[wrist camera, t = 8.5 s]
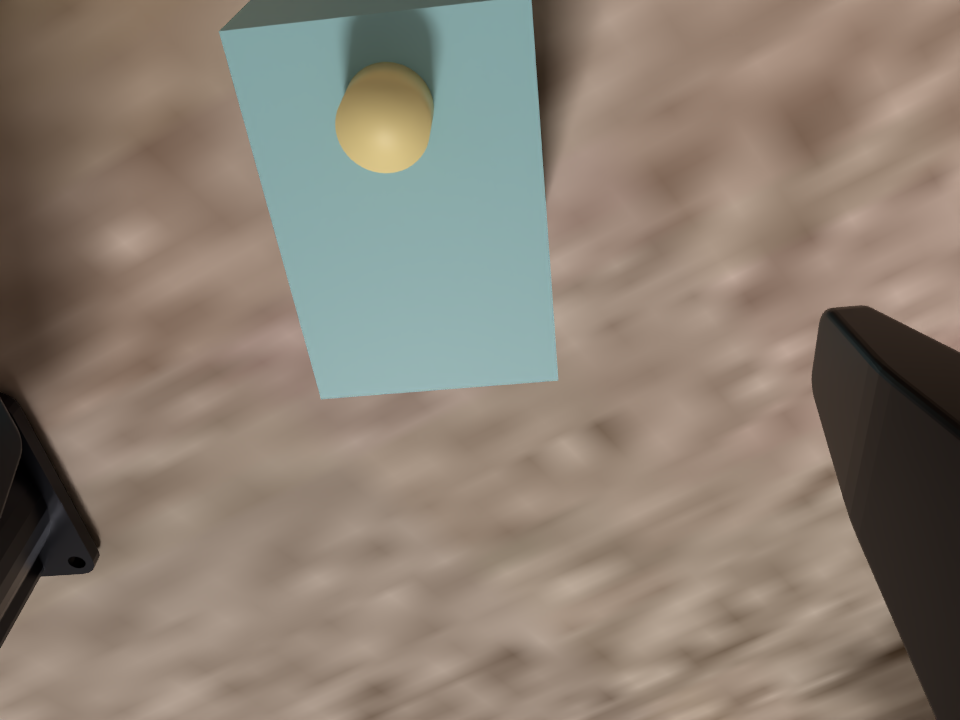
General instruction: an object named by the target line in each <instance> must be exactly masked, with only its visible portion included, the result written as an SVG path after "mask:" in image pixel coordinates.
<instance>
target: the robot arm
mask: <svg viewBox="0 0 960 720" xmlns="http://www.w3.org/2000/svg"><path fill="white" fill-rule="evenodd" d="M812 390H813V395H814V399H815V403H816V406H817V410H818V413H819V417H820V420H821V423H822V427H823V430H824V434H825V437H826V441H827V444H828V448H829V451H830V454H831V458H832V461H833V465H834V468H835V472H836V475H837V479H838V482H839V486H840V489H841V492H842V496H843V499H844V502H845V505H846V509H847V512H848V515H849V518H850V521H851V523H852V526H853V528H854V531H855V533H856V536H857V538H858V540H859V543H860V545H861V547H862V550H863V552H864V554H865V557H866V559H867V561H868V563H869V566H870V568H871V570H872V573H873V575H874V577H875V580H876V582H877V584H878V586H879V589H880V591H881V593H882V596H883V598H884V600H885V603H886V605H887V607H888V609H889V612H890V614H891V616H892V619H893V621H894V623H895V626H896V628H897V630H898V632H899V635H900V637H901V639H902V642H903V644H904V646H905V649H906V651H907V653H908V655H909V658H910V660H911V662H912V665H913V667H914V669H915V672H916V674H917V676H918V678H919V681H920V683H921V685H922V688H923V690H924V692H925V695H926V697H927V699H928V701H929V704H930V706H931V708H932V711H933V713H934V715H935V717H936V720H960V352H958V351H956V350H954V349H952V348H950V347H948V346H946V345H944V344H942V343H940V342H938V341H936V340H934V339H932V338H930V337H928V336H926V335H924V334H922V333H920V332H918V331H916V330H914V329H912V328H910V327H908V326H906V325H904V324H902V323H900V322H898V321H897V320H895V319H893V318H891V317H889V316H887V315H885V314H883V313H881V312H879V311H877V310H875V309H873V308H871V307H868V306H862V305H860V306H848V307H836V308H829V309H827V310H826V311H825V312H824V313H823V314H822V316H821V319H820V322H819V328H818V335H817V342H816V349H815V356H814V362H813V369H812ZM99 556H100V555H99V551H98V549H97V547H96V545H95V544H94V542H93V540H92V538H91V536H90V534H89V532H88V531H87V529H86V527H85V525H84V523H83V521H82V519H81V518H80V516H79V514H78V512H77V510H76V508H75V507H74V505H73V503H72V501H71V499H70V497H69V495H68V494H67V492H66V490H65V488H64V486H63V484H62V483H61V481H60V479H59V477H58V475H57V473H56V471H55V470H54V468H53V466H52V464H51V462H50V460H49V459H48V457H47V455H46V453H45V451H44V449H43V447H42V446H41V444H40V442H39V440H38V438H37V436H36V434H35V433H34V431H33V429H32V427H31V425H30V423H29V422H28V420H27V418H26V416H25V414H24V412H23V410H22V409H21V407H20V405H19V404H18V403H17V401H16V400H15V399H13V398H12V397H10V396H9V395H6V394H4V393H1V392H0V648H1V646H2V644H3V643H4V641H5V639H6V637H7V635H8V634H9V632H10V630H11V628H12V627H13V625H14V623H15V621H16V619H17V618H18V616H19V614H20V612H21V610H22V609H23V607H24V605H25V603H26V602H27V600H28V598H29V596H30V594H31V593H32V591H33V589H34V587H35V585H36V584H37V582H38V580H39V578H40V577H41V576H56V575H72V574H85V573H89V572H90V571H92V570H93V569H94V567H95V565H96V563H97V561H98V558H99Z"/></svg>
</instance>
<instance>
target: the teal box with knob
mask: <svg viewBox="0 0 960 720" xmlns="http://www.w3.org/2000/svg"><path fill="white" fill-rule="evenodd" d="M219 33H220V37H221V40H222V44H223V48H224V51H225V55H226V58H227V62H228V66H229V69H230V73H231V76H232V80H233V84H234V87H235V91H236V94H237V98H238V102H239V105H240V109H241V112H242V116H243V120H244V123H245V127H246V130H247V134H248V138H249V141H250V145H251V148H252V152H253V156H254V159H255V163H256V166H257V170H258V174H259V177H260V181H261V184H262V188H263V192H264V195H265V199H266V202H267V206H268V210H269V213H270V217H271V220H272V224H273V228H274V231H275V235H276V238H277V242H278V246H279V249H280V253H281V256H282V260H283V264H284V267H285V271H286V274H287V278H288V282H289V285H290V289H291V292H292V296H293V300H294V303H295V307H296V310H297V314H298V318H299V321H300V325H301V328H302V332H303V336H304V339H305V343H306V346H307V350H308V354H309V357H310V361H311V364H312V368H313V372H314V375H315V379H316V382H317V386H318V390H319V393H320V397H321V399H329V398H342V397H355V396H367V395H380V394H393V393H405V392H418V391H431V390H444V389H456V388H469V387H482V386H494V385H507V384H520V383H532V382H545V381H558V370H557V356H556V342H555V327H554V313H553V299H552V285H551V271H550V256H549V242H548V228H547V214H546V199H545V185H544V171H543V157H542V143H541V128H540V114H539V100H538V86H537V71H536V57H535V43H534V29H533V15H532V0H250V1H249V2H248V3H247V4H246V5H245V6H244V7H243V8H242V9H241V10H240V11H239V12H238V13H237V14H236V15H235V16H234V17H233V18H232V19H231V20H230V21H229V22H228V23H227V24H226V25H225V26H224V27H223V28H222V29H221V30H220V31H219Z"/></svg>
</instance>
